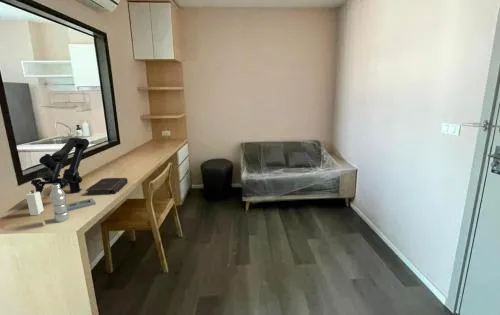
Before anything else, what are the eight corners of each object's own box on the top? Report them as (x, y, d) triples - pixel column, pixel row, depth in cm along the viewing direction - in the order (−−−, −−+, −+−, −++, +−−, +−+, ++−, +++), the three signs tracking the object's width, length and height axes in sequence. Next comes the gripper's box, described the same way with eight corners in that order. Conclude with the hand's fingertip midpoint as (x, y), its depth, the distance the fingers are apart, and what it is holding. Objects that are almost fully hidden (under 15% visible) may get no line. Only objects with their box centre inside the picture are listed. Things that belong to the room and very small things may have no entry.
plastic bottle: (59, 225, 136) (51, 187, 131) (52, 222, 139) (44, 185, 134) (72, 220, 142) (65, 183, 137) (65, 217, 145) (58, 181, 140)
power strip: (63, 214, 149) (62, 209, 148) (61, 209, 154) (60, 204, 154) (96, 205, 159) (95, 201, 158) (92, 202, 165) (92, 197, 164)
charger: (30, 215, 148) (25, 191, 145) (36, 212, 152) (30, 189, 149) (38, 215, 148) (33, 191, 145) (44, 212, 152) (39, 188, 149)
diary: (128, 183, 199) (127, 177, 198) (115, 196, 175) (114, 189, 173) (101, 184, 197) (100, 178, 196) (84, 197, 173) (83, 190, 172)
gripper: (28, 166, 157) (17, 191, 149) (60, 164, 156) (51, 190, 148) (42, 174, 166) (33, 198, 159) (72, 173, 166) (64, 197, 158)
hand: (44, 196), depth 156 cm, fingers open, 9 cm apart
